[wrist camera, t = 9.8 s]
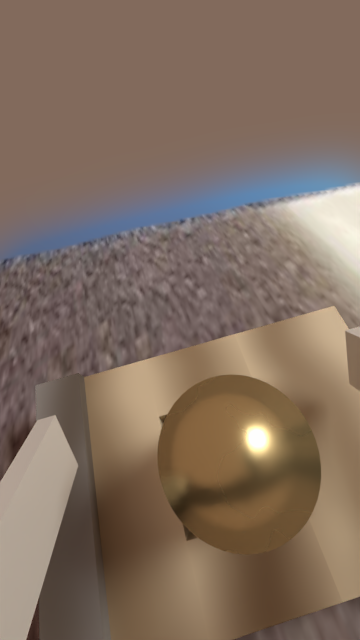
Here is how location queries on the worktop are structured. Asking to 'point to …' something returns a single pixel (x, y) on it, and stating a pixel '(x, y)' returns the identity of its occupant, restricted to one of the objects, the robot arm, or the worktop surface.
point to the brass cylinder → (239, 464)
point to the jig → (163, 524)
